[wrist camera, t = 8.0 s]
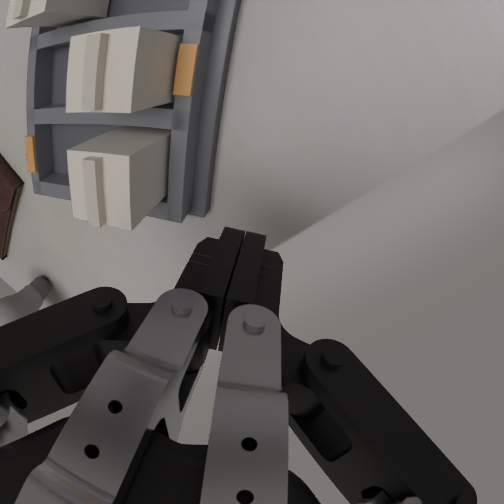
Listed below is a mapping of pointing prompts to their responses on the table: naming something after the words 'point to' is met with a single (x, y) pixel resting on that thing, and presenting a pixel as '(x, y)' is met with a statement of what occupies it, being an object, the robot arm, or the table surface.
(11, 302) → the lightbulb
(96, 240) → the table surface
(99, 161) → the white oblong block
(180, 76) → the switch bank
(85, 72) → the white rectangular block
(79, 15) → the white ridged block
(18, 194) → the notebook
